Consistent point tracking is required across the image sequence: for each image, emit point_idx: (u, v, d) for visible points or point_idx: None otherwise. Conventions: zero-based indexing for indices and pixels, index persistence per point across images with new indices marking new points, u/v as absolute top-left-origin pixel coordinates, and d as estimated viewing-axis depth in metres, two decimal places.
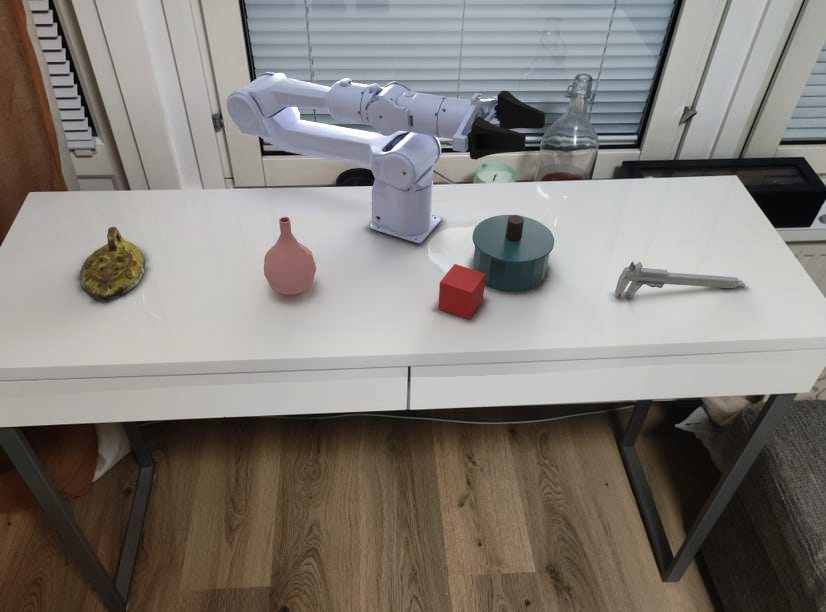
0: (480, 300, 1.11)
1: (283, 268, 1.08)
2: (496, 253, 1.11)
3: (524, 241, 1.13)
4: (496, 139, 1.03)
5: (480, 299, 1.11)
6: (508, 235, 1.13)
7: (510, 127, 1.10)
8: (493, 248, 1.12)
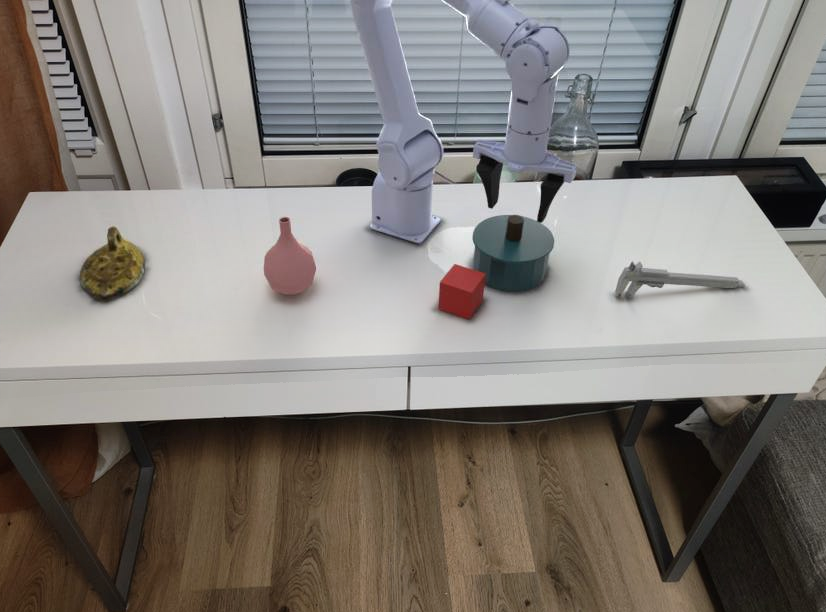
0: (480, 300, 1.11)
1: (283, 268, 1.08)
2: (496, 253, 1.11)
3: (524, 241, 1.13)
4: None
5: (480, 299, 1.11)
6: (508, 235, 1.13)
7: None
8: (493, 248, 1.12)
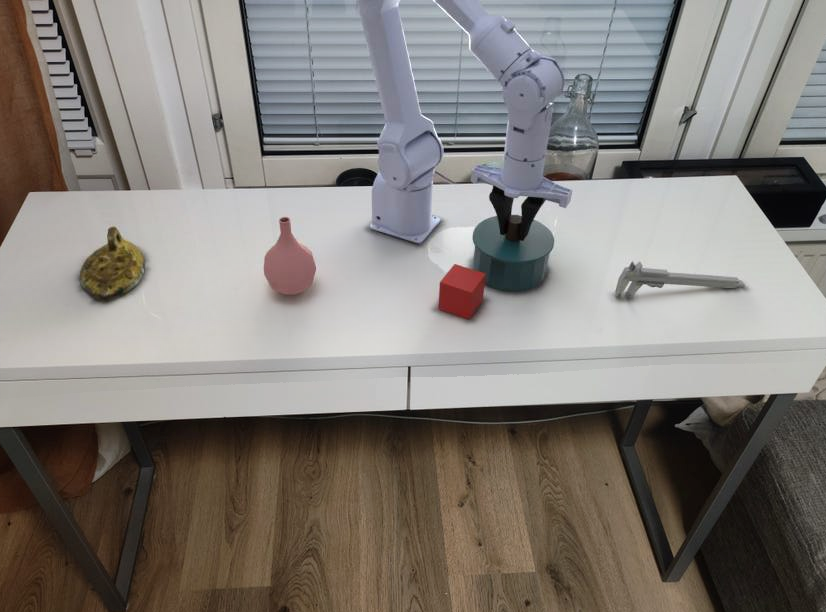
0: (480, 300, 1.11)
1: (283, 268, 1.08)
2: (496, 253, 1.11)
3: (524, 241, 1.13)
4: None
5: (480, 299, 1.11)
6: (508, 235, 1.13)
7: None
8: (493, 248, 1.12)
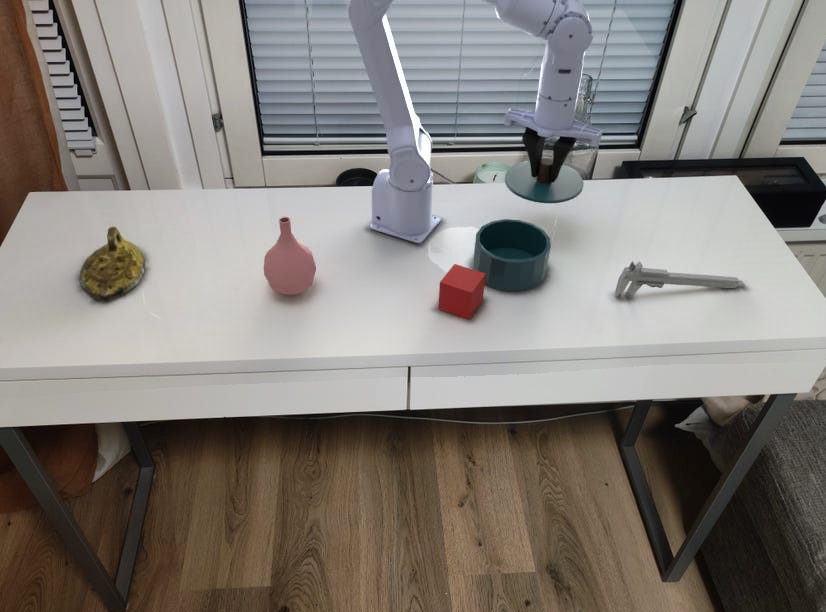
0: (480, 300, 1.11)
1: (283, 268, 1.08)
2: (528, 193, 1.15)
3: (554, 183, 1.18)
4: None
5: (480, 299, 1.11)
6: (539, 177, 1.18)
7: None
8: (525, 189, 1.16)
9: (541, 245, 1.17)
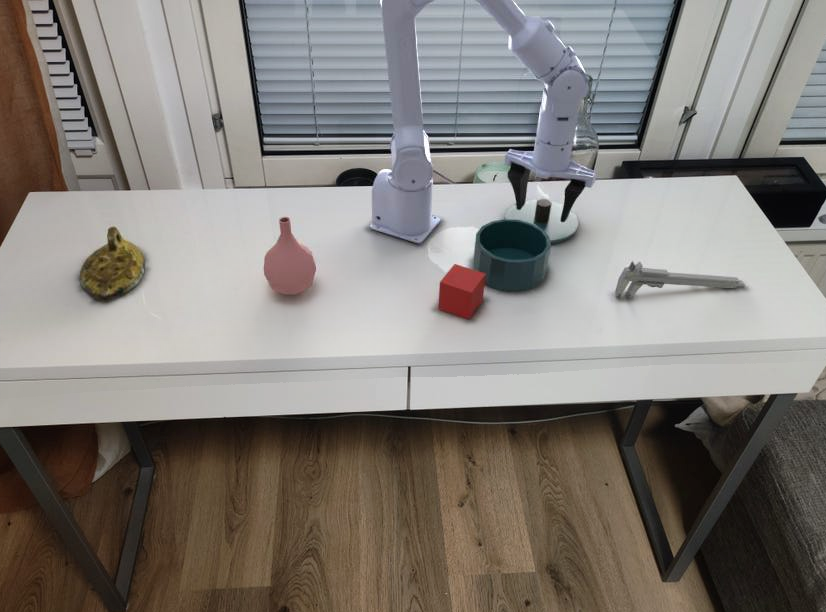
0: (480, 300, 1.11)
1: (283, 268, 1.08)
2: None
3: (551, 223, 1.25)
4: None
5: (480, 299, 1.11)
6: (537, 217, 1.25)
7: None
8: None
9: (541, 245, 1.17)
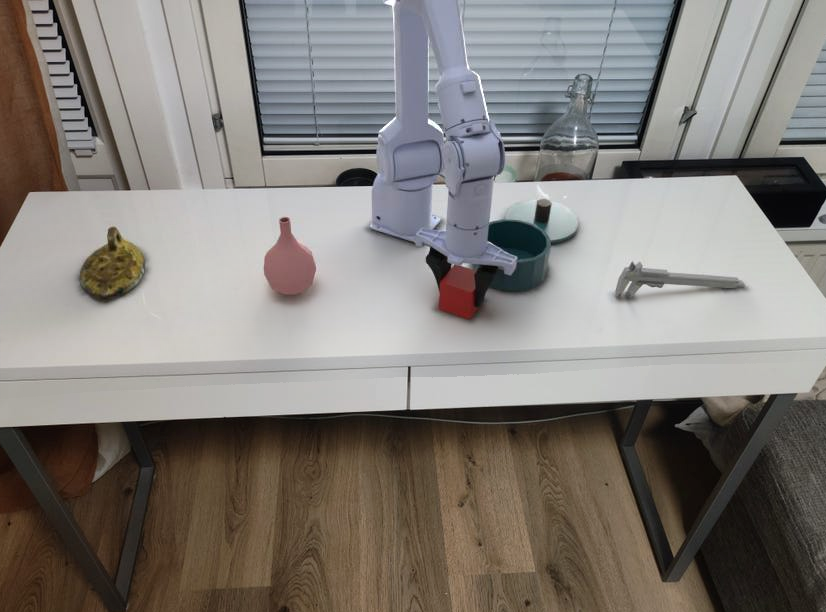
0: None
1: (283, 268, 1.08)
2: None
3: (551, 223, 1.25)
4: None
5: None
6: (537, 217, 1.25)
7: None
8: None
9: (541, 245, 1.17)
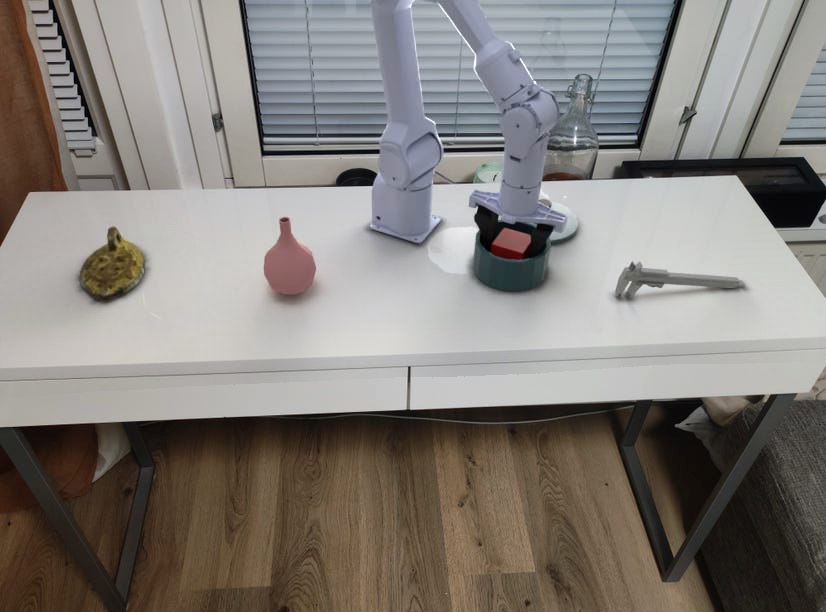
0: None
1: (283, 268, 1.08)
2: None
3: None
4: None
5: None
6: None
7: None
8: None
9: None
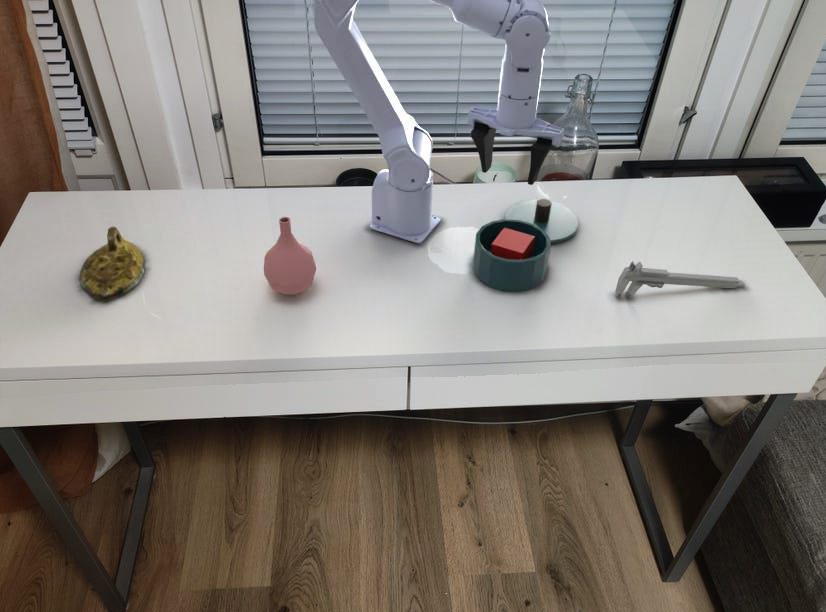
0: None
1: (283, 268, 1.08)
2: None
3: (551, 223, 1.25)
4: None
5: None
6: (537, 217, 1.25)
7: None
8: None
9: (541, 245, 1.17)
